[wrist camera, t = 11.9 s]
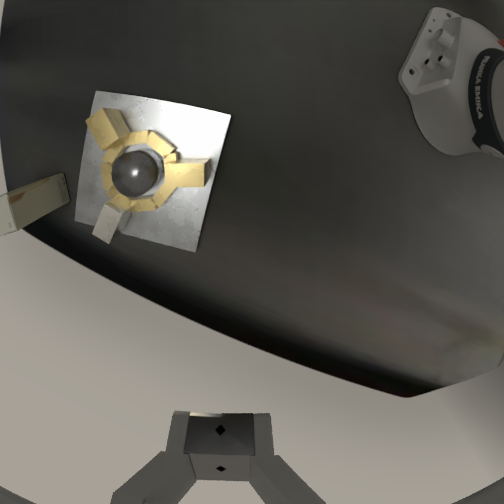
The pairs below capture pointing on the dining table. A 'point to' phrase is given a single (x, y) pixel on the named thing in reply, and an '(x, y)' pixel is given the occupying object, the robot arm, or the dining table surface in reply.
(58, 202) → the skincare box
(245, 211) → the dining table surface
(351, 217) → the dining table surface
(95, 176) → the housing
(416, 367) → the dining table surface
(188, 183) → the ring nut
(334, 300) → the dining table surface
